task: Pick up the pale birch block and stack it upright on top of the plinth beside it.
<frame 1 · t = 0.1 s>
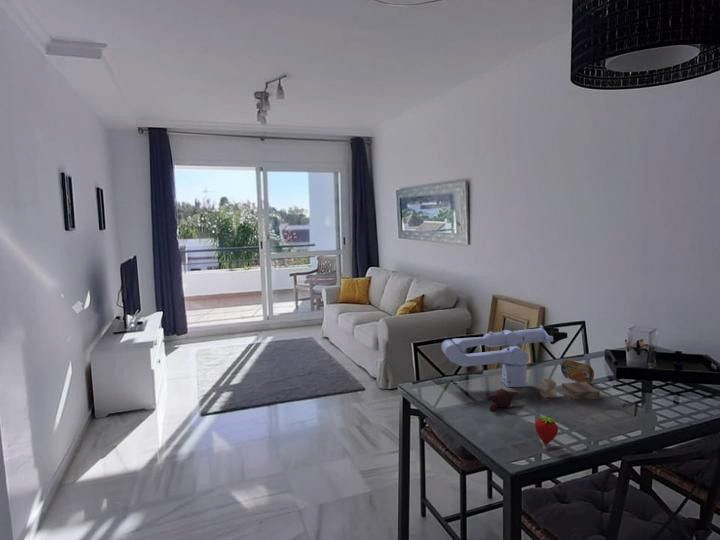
hand: (562, 332, 196), 22 cm above the table, tool horizontal, fingers open, 7 cm apart
strawberry: (545, 444, 144), on the table
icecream: (502, 407, 174), on the table
plinth: (580, 394, 184), on the table
tin: (577, 381, 200), on the table
birch block: (547, 395, 184), on the table
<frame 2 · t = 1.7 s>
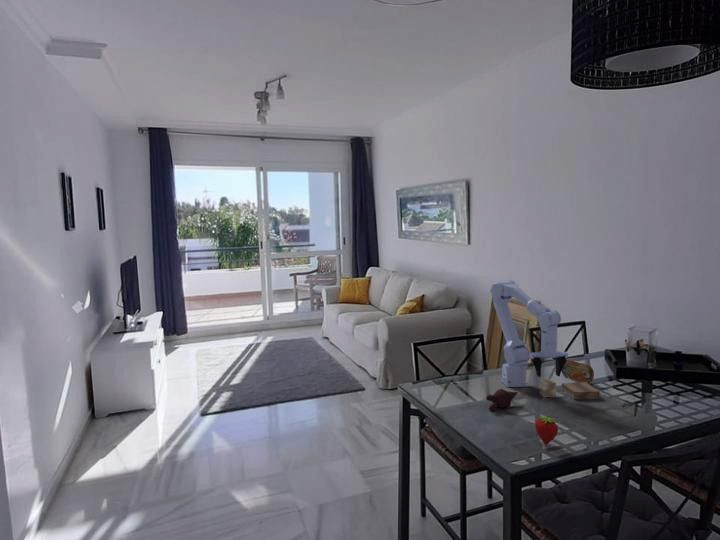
hand: (548, 375, 183), 8 cm above the table, tool pointing down, fingers open, 7 cm apart
nothing on the table moved.
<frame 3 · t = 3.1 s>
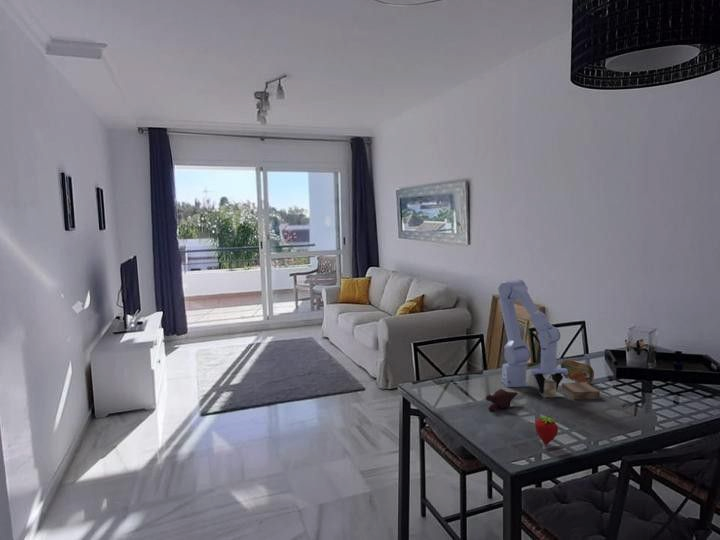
hand: (547, 392, 183), 1 cm above the table, tool pointing down, fingers closed on birch block, 4 cm apart
birch block: (547, 395, 184), on the table, touching gripper
everything else where it was.
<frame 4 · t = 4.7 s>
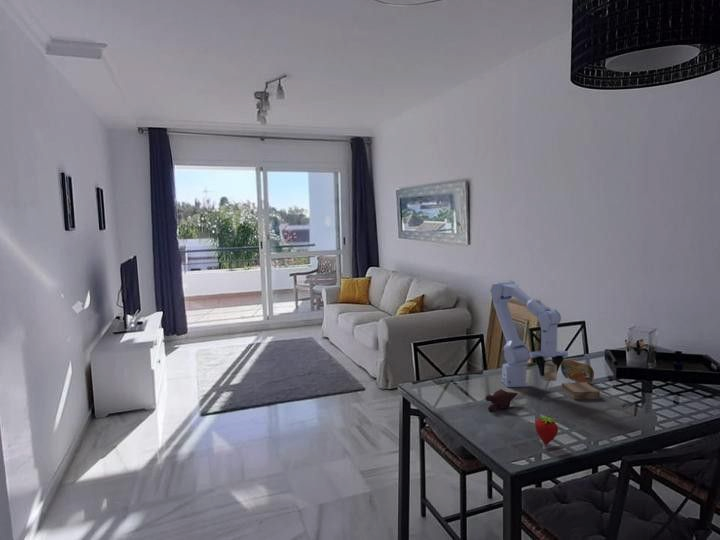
hand: (548, 374, 183), 8 cm above the table, tool pointing down, fingers closed on birch block, 4 cm apart
birch block: (548, 378, 183), point 7 cm above the table, touching gripper
everything else where it was.
when the fingers open (6 cm above the table, at t = 6.8 s): birch block drops 1 cm, resting on plinth.
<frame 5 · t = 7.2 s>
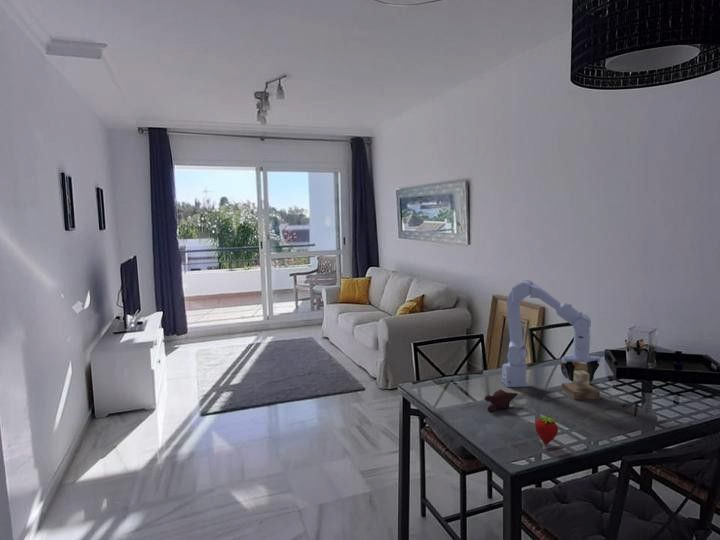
hand: (580, 380, 183), 6 cm above the table, tool pointing down, fingers open, 7 cm apart
birch block: (580, 387, 184), point 3 cm above the table, touching plinth
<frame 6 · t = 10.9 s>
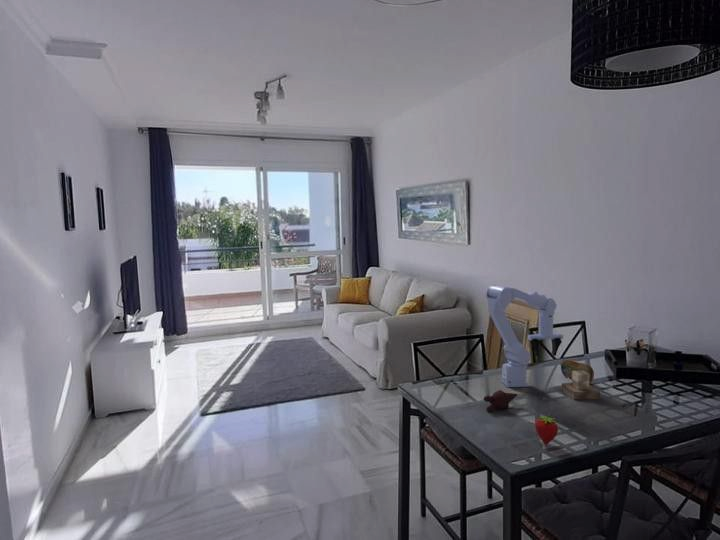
hand: (545, 355, 202), 10 cm above the table, tool pointing down, fingers open, 7 cm apart
at the end: birch block 0.1 cm off-centre on the plinth, point 3.0 cm above the plinth's base; birch block tilted 0°; the gripper is holding nothing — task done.
